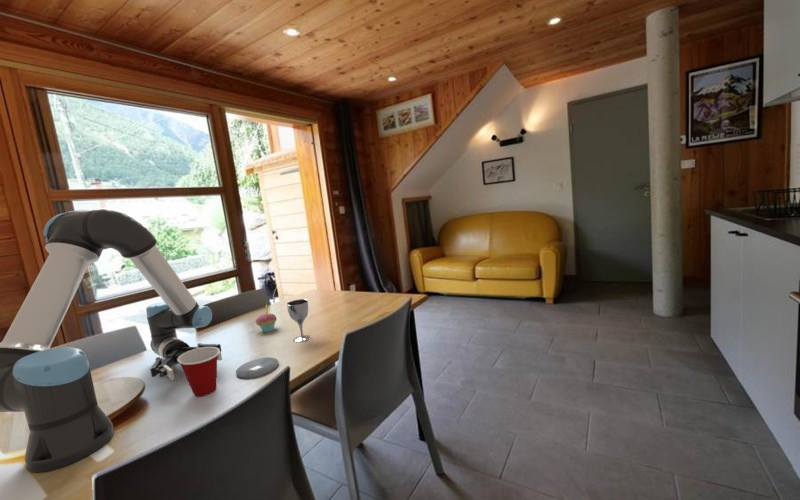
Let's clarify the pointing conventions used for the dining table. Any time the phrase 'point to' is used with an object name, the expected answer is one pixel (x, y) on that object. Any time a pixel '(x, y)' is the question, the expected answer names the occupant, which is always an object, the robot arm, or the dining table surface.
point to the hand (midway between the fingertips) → (197, 365)
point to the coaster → (257, 368)
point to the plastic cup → (200, 369)
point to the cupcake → (266, 321)
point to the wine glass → (299, 315)
